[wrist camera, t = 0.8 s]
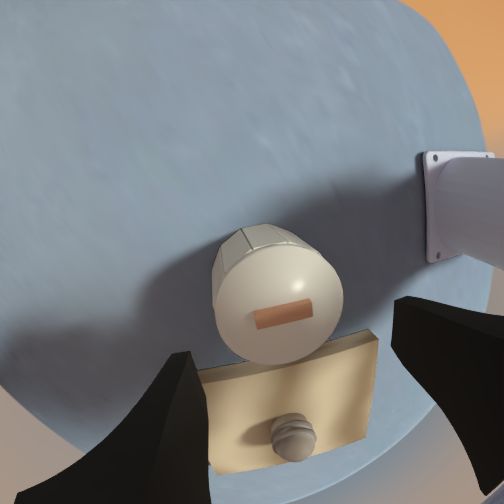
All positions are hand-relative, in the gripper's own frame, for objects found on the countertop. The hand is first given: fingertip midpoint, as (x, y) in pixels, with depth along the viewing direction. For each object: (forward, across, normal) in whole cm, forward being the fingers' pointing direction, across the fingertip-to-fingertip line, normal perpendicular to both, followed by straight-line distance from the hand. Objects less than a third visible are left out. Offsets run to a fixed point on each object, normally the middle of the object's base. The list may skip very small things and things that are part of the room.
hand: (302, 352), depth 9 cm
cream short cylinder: (+8, 0, 0) cm, 8 cm away
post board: (+8, 0, +12) cm, 14 cm away
